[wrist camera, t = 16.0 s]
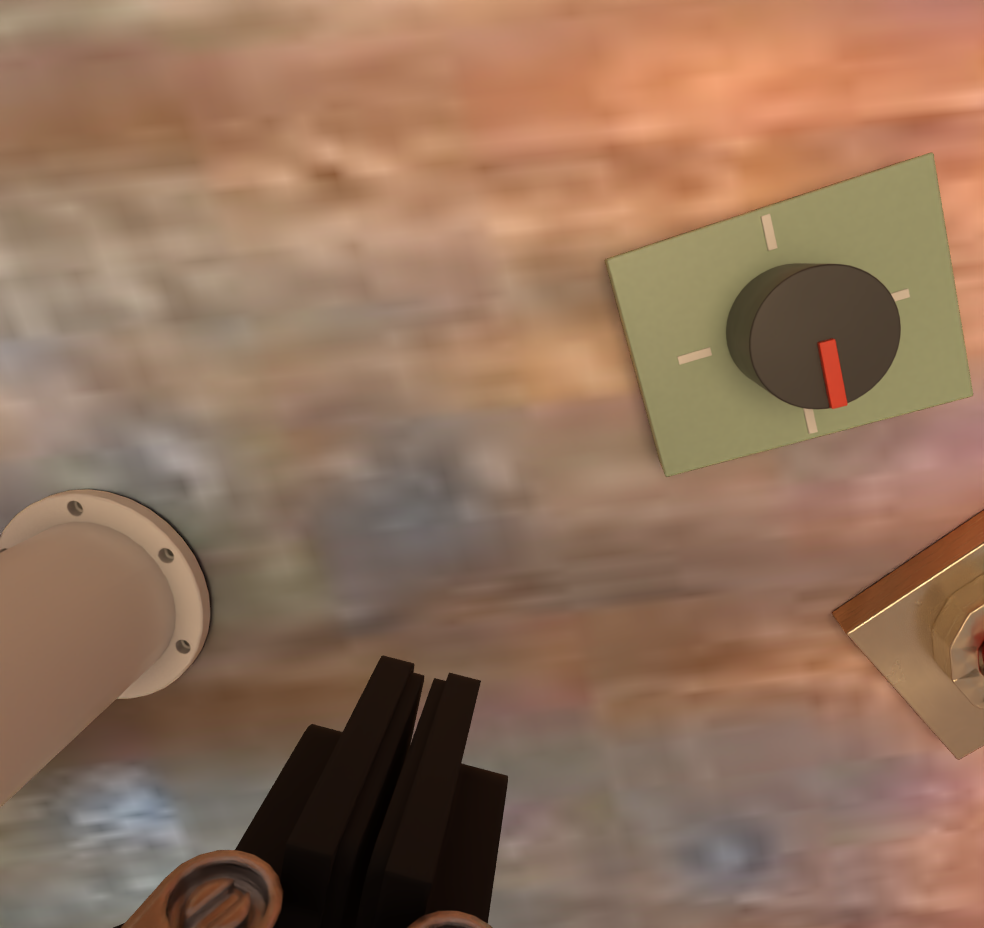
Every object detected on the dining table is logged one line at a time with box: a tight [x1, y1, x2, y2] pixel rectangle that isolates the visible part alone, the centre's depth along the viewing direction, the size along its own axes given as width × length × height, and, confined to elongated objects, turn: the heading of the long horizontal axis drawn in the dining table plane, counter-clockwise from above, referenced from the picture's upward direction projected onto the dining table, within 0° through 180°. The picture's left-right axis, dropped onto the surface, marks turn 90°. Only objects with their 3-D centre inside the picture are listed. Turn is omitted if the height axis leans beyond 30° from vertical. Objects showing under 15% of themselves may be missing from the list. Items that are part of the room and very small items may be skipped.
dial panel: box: [605, 153, 973, 477], centre depth 31 cm, size 13×10×3 cm
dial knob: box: [726, 263, 901, 409], centre depth 28 cm, size 5×5×5 cm
